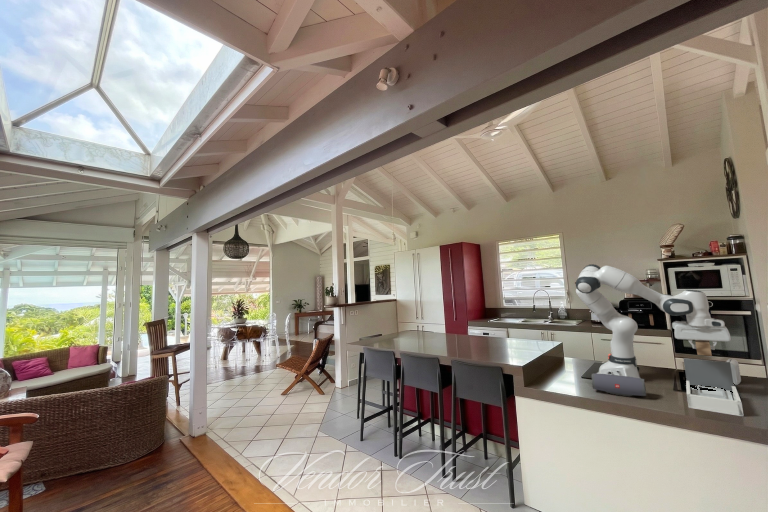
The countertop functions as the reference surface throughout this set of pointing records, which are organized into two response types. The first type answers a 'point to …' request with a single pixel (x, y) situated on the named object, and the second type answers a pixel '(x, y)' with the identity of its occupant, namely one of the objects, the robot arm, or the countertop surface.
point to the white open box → (715, 403)
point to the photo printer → (735, 371)
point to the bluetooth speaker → (619, 384)
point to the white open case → (710, 377)
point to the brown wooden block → (703, 347)
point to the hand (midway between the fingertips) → (703, 348)
